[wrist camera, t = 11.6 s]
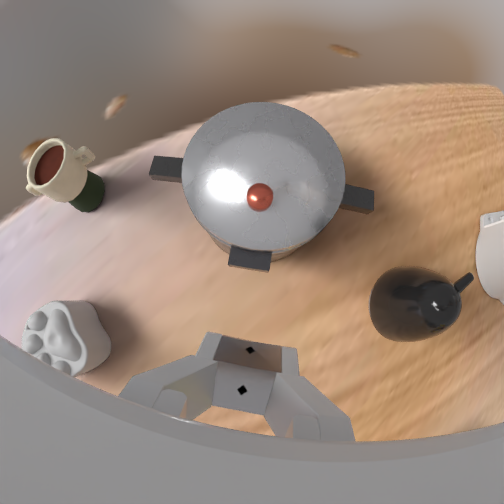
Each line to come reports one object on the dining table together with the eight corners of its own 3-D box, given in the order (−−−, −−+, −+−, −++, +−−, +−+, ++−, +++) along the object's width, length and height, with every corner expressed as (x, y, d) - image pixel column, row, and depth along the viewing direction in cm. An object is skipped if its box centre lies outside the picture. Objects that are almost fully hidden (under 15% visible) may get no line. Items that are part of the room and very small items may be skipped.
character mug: (113, 161, 41) (75, 119, 28) (124, 197, 40) (83, 162, 27) (61, 192, 40) (15, 163, 27) (69, 228, 39) (18, 207, 26)
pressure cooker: (339, 289, 39) (372, 286, 28) (157, 259, 39) (125, 246, 28) (349, 170, 41) (377, 134, 30) (184, 143, 41) (168, 101, 30)
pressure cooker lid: (334, 264, 28) (342, 261, 25) (168, 237, 28) (161, 231, 25) (343, 124, 30) (350, 112, 27) (204, 102, 30) (201, 88, 27)
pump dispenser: (427, 307, 38) (494, 309, 23) (381, 351, 37) (441, 374, 22) (396, 254, 40) (459, 235, 24) (346, 297, 39) (399, 297, 23)
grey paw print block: (119, 354, 37) (90, 366, 28) (65, 384, 36) (34, 397, 27) (87, 292, 38) (54, 290, 29) (38, 328, 37) (4, 331, 28)
